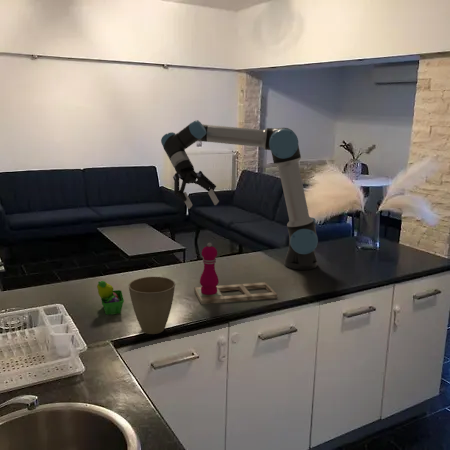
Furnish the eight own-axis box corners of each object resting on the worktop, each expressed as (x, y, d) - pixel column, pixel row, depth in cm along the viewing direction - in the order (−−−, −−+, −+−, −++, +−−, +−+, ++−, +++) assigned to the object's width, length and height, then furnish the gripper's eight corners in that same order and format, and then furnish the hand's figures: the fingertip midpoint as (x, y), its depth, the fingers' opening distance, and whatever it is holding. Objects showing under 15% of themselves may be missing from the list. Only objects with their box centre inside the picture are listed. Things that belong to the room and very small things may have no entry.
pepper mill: (197, 290, 197) (197, 240, 193) (214, 287, 200) (214, 239, 195) (203, 296, 191) (203, 245, 186) (221, 294, 194) (222, 244, 189)
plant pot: (132, 320, 173) (131, 276, 170) (176, 320, 174) (175, 276, 170) (127, 340, 159) (125, 292, 155) (174, 339, 160) (174, 292, 156)
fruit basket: (124, 314, 178) (123, 284, 175) (98, 317, 176) (97, 286, 173) (121, 302, 189) (120, 274, 186) (97, 304, 186) (96, 276, 184)
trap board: (265, 285, 209) (265, 281, 208) (277, 298, 195) (277, 293, 195) (194, 291, 201) (194, 286, 201) (201, 304, 188) (201, 299, 188)
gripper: (201, 168, 224) (223, 206, 216) (154, 172, 208) (175, 214, 200) (209, 157, 218) (231, 196, 211) (160, 160, 203) (182, 203, 195)
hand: (203, 205), depth 205 cm, fingers open, 13 cm apart
